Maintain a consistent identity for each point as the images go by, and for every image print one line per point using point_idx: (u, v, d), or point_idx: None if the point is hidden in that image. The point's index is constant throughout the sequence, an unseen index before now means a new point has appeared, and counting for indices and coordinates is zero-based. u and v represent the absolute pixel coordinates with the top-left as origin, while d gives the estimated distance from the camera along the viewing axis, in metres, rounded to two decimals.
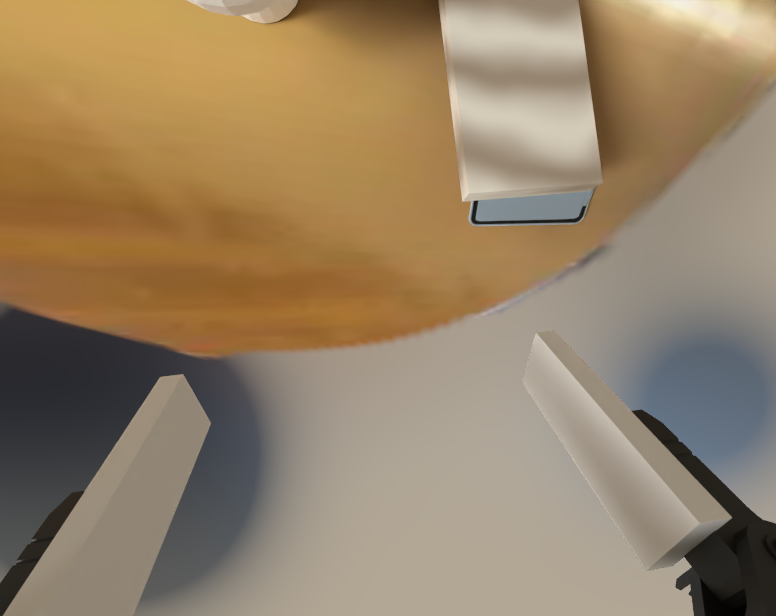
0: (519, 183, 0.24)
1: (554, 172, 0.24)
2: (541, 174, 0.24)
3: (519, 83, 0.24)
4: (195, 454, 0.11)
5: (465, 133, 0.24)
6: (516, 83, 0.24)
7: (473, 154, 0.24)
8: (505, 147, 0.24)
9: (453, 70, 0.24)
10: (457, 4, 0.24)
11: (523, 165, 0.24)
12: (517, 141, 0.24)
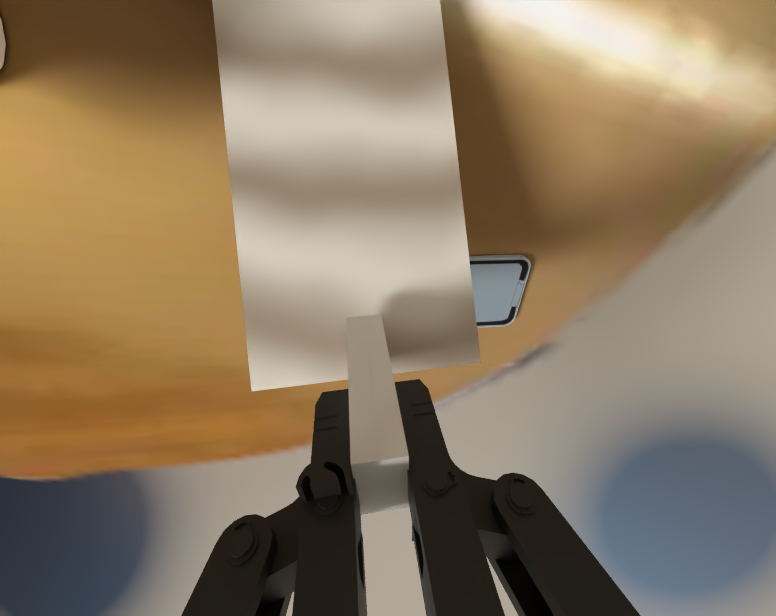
0: (339, 369, 0.15)
1: (398, 348, 0.15)
2: None
3: (343, 203, 0.15)
4: None
5: (247, 289, 0.14)
6: (337, 202, 0.15)
7: (261, 324, 0.15)
8: (316, 310, 0.15)
9: (231, 182, 0.15)
10: (238, 71, 0.15)
11: (346, 339, 0.15)
12: (337, 299, 0.15)
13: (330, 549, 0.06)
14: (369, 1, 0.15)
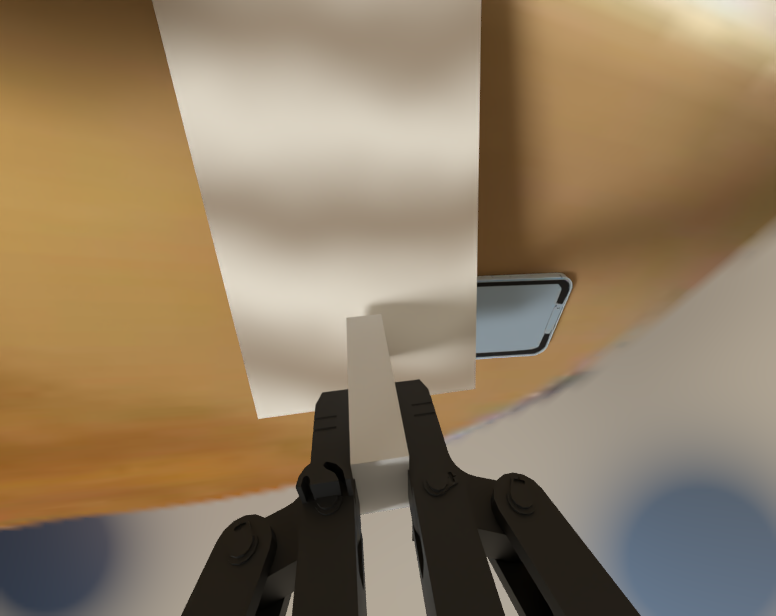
0: None
1: (398, 379, 0.15)
2: None
3: (341, 234, 0.13)
4: None
5: (242, 329, 0.14)
6: (335, 232, 0.13)
7: (260, 362, 0.14)
8: (316, 347, 0.14)
9: (206, 208, 0.12)
10: (190, 45, 0.10)
11: (347, 372, 0.15)
12: (338, 336, 0.14)
13: (330, 549, 0.06)
14: None
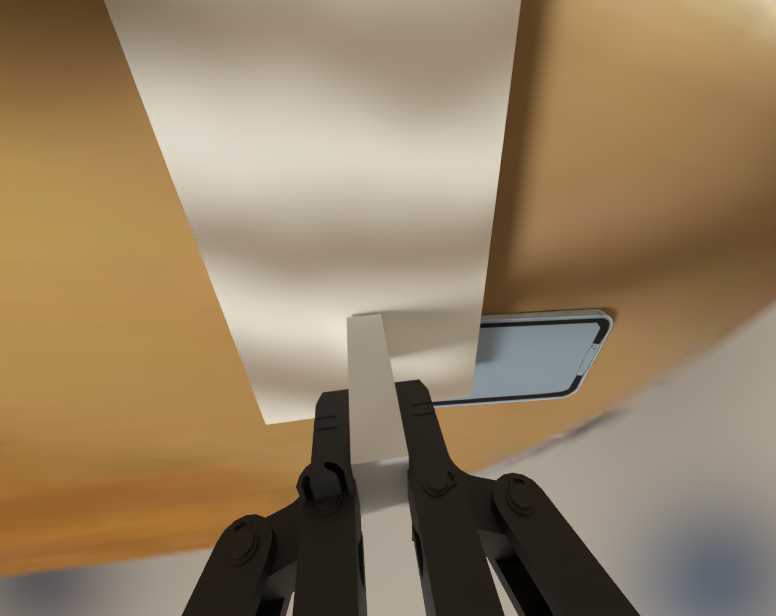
0: None
1: None
2: None
3: (345, 264, 0.12)
4: None
5: (245, 352, 0.14)
6: (338, 264, 0.12)
7: (265, 380, 0.15)
8: (320, 366, 0.15)
9: (197, 240, 0.11)
10: (159, 54, 0.08)
11: None
12: (341, 357, 0.15)
13: (330, 549, 0.06)
14: None
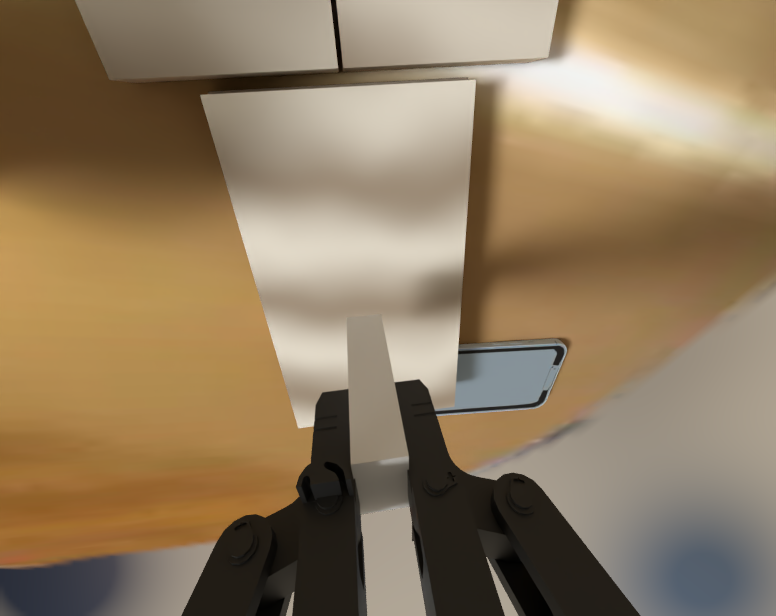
0: None
1: None
2: None
3: (360, 315, 0.18)
4: None
5: (287, 375, 0.19)
6: (355, 314, 0.18)
7: (300, 394, 0.20)
8: (340, 384, 0.20)
9: (261, 302, 0.17)
10: (251, 200, 0.14)
11: None
12: None
13: (330, 549, 0.06)
14: (391, 105, 0.13)
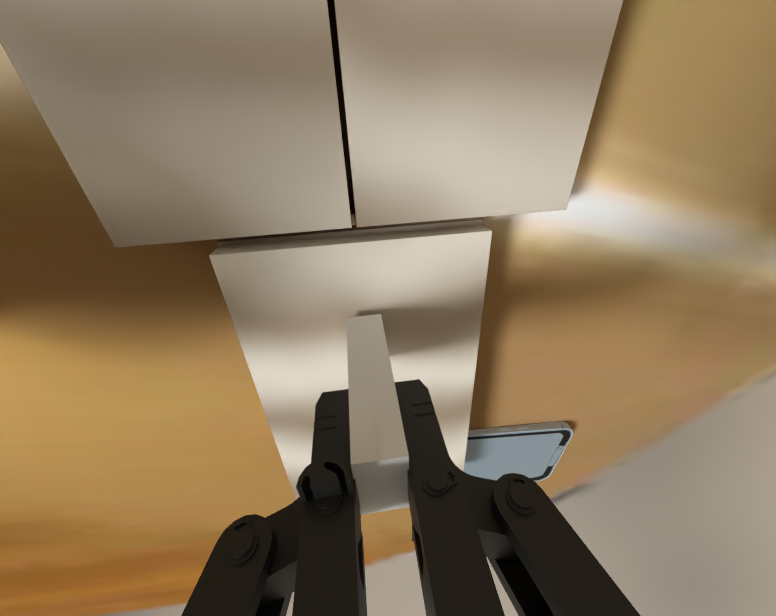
0: None
1: None
2: None
3: None
4: None
5: (293, 479, 0.19)
6: None
7: None
8: None
9: (268, 420, 0.16)
10: (260, 339, 0.14)
11: None
12: None
13: (330, 549, 0.06)
14: (405, 255, 0.13)
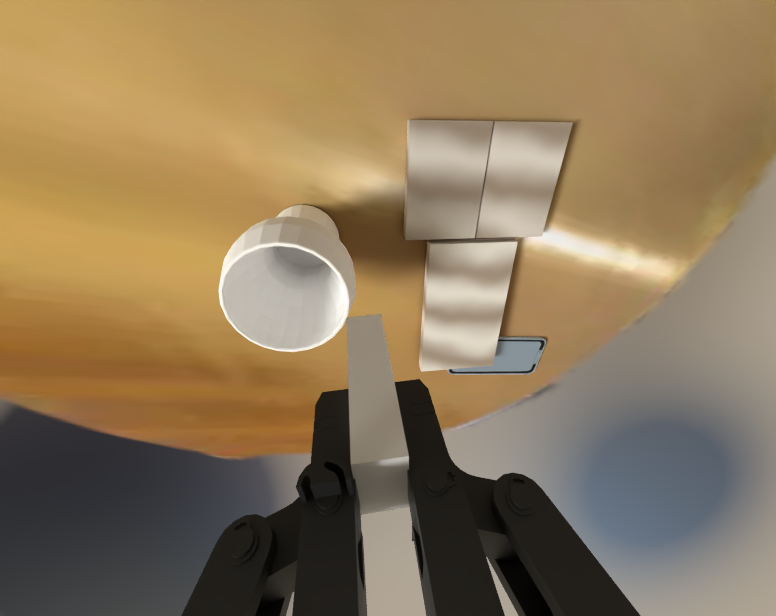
0: (448, 366, 0.46)
1: (468, 361, 0.46)
2: (461, 362, 0.46)
3: (461, 319, 0.42)
4: None
5: (425, 344, 0.43)
6: (459, 319, 0.42)
7: (427, 354, 0.44)
8: (445, 350, 0.44)
9: (425, 312, 0.41)
10: (434, 275, 0.39)
11: (452, 358, 0.45)
12: (452, 347, 0.44)
13: (330, 549, 0.06)
14: (489, 248, 0.38)
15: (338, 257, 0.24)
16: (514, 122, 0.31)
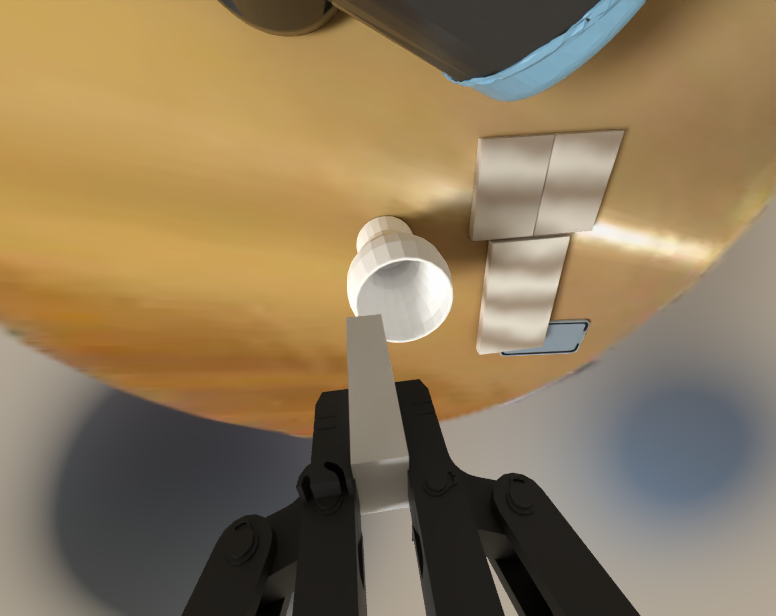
0: (503, 349, 0.52)
1: (521, 344, 0.52)
2: (515, 345, 0.51)
3: (517, 307, 0.48)
4: None
5: (484, 330, 0.49)
6: (515, 307, 0.48)
7: (485, 339, 0.50)
8: (501, 335, 0.50)
9: (485, 302, 0.47)
10: (496, 270, 0.44)
11: (507, 342, 0.51)
12: (508, 332, 0.50)
13: (330, 549, 0.06)
14: (544, 243, 0.43)
15: (444, 265, 0.29)
16: (573, 134, 0.36)
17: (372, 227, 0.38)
